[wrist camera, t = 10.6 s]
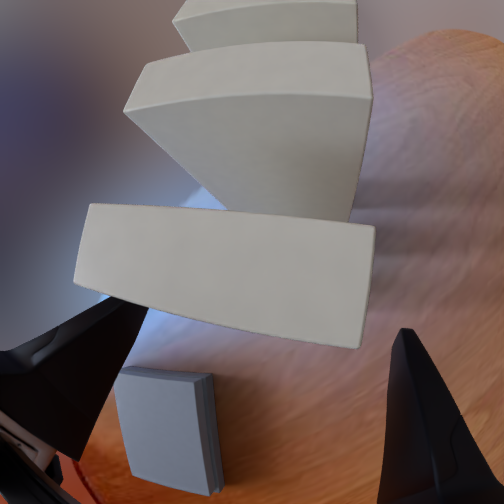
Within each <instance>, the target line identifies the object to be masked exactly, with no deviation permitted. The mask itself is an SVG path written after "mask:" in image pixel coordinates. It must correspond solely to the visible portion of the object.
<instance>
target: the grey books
mask: <svg viewBox="0 0 504 504" xmlns="http://www.w3.org/2000/svg"><path fill="white" fill-rule="evenodd" d="M114 391H115V398H116V404H117V410H118V415H119V421H120V426H121V431H122V436H123V440H124V445H125V449H126V453H127V457H128V461H129V465H130V468H131V472H132V475H133V476H136V477H139V478H142V479H145V480H148V481H151V482H154V483H157V484H161V485H164V486H168V487H171V488H175V489H179V490H183V491H187V492H192V493H196V494H201V495H206V496H210V495H211V494H212V493H213V492H217V493H220V492H221V491H222V489H223V488H224V486H225V483H224V476H223V469H222V461H221V453H220V445H219V437H218V428H217V419H216V409H215V399H214V388H213V377H212V374H211V373H194V372H180V371H168V370H158V369H149V368H141V367H133V366H128V367H124V368H121V370H120V372H119V374H118V376H117V378H116V380H115V382H114Z"/></svg>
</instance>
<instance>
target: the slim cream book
mask: <svg viewBox="0 0 504 504" xmlns="http://www.w3.org/2000/svg"><path fill="white" fill-rule="evenodd" d="M375 238H376V228H375V227H374V226H371V225H364V224H356V223H348V222H340V221H331V220H323V219H314V218H305V217H295V216H285V215H275V214H264V213H253V212H242V211H229V210H216V209H202V208H187V207H170V206H151V205H129V204H128V205H127V204H99V203H98V204H97V203H92V204H90V206H89V210H88V214H87V218H86V222H85V226H84V230H83V234H82V239H81V243H80V249H79V253H78V258H77V263H76V269H75V275H74V283H75V284H76V285H79V286H82V287H85V288H88V289H90V290H93V291H97V292H100V293H103V294H106V295H109V296H112V297H115V298H118V299H122V300H125V301H128V302H131V303H135V304H138V305H142V306H145V307H149V308H152V309H156V310H159V311H163V312H167V313H171V314H174V315H178V316H182V317H186V318H190V319H194V320H198V321H202V322H207V323H211V324H215V325H220V326H224V327H229V328H233V329H238V330H243V331H247V332H252V333H257V334H263V335H268V336H273V337H279V338H284V339H290V340H296V341H302V342H308V343H315V344H321V345H328V346H336V347H343V348H351V349H359V348H360V346H361V343H362V338H363V332H364V327H365V321H366V315H367V308H368V302H369V295H370V287H371V279H372V271H373V261H374V251H375Z"/></svg>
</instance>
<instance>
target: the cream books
mask: <svg viewBox="0 0 504 504" xmlns="http://www.w3.org/2000/svg"><path fill="white" fill-rule="evenodd" d="M173 24H174V26H175V27H176V29H177V30H178V32H179V33H180V35H181V37H182V38H183V40H184V41H185V43H186V45H187V46H188V48H189V49H190V51H191V53H187V54H182V55H178V56H174V57H169V58H165V59H162V60H158V61H154V62H151V63H148V64H146V66H145V68H144V69H143V71H142V73H141V75H140V77H139V79H138V81H137V83H136V85H135V87H134V89H133V91H132V93H131V95H130V97H129V100H128V102H127V104H126V106H125V108H124V113H125V114H126V115H127V116H128V117H129V118H130V119H131V120H132V121H133V122H135V123H136V124H137V125H138V126H139V127H140V128H141V129H142V130H143V131H144V132H145V133H146V134H147V135H149V136H150V137H151V138H152V139H153V140H154V141H155V142H156V143H157V144H158V145H159V146H161V148H163V149H164V150H165V151H166V152H167V153H168V154H169V155H170V156H171V157H172V158H173V159H174V160H175V161H177V162H178V163H179V164H180V165H181V166H182V167H183V168H184V169H185V170H186V171H187V172H188V173H189V174H190V175H191V176H192V177H193V178H195V179H196V180H197V181H198V182H199V183H200V184H201V185H202V186H203V187H204V188H205V189H206V190H207V191H208V192H209V193H210V194H211V195H212V196H214V197H215V198H216V199H217V200H218V201H219V202H220V203H221V204H222V205H223V206H224V207H225V208H226V209H227V210H229V211H242V212H253V213H264V214H275V215H285V216H295V217H305V218H314V219H323V220H331V221H340V222H348V221H349V217H350V214H351V210H352V206H353V201H354V197H355V193H356V189H357V184H358V180H359V175H360V171H361V166H362V161H363V156H364V151H365V146H366V141H367V135H368V130H369V124H370V118H371V112H372V106H373V99H374V97H373V88H372V80H371V72H370V65H369V58H368V52H367V47H366V45H364V44H358V4H357V0H187V1H186V2H185V3H184V5H183V6H182V8H181V9H180V10H179V12H178V13H177V15H176V16H175V18H174V19H173Z"/></svg>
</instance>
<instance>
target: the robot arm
mask: <svg viewBox="0 0 504 504" xmlns="http://www.w3.org/2000/svg"><path fill="white" fill-rule="evenodd" d="M148 309H149V307H145V306H142V305H138V304H135V303H131V302H128V301H125V300H122V299H118V298H115V297H112V296H111V297H109V298H107V299H105V300H103V301H102V302H100V303H98V304H96V305H95V306H93V307H91V308H89V309H87V310H85V311H84V312H82V313H80V314H78V315H76V316H75V317H73V318H71V319H69V320H68V321H66V322H64V323H62V324H60V325H59V326H57V327H55V328H53V329H52V330H50V331H48V332H46V333H44V334H42V335H40V336H38V337H37V338H34V339H32V340H30V341H28V342H26V343H24V344H22V345H20V346H18V347H16V348H14V349H11V350H8V351H0V494H1V495H2V496H3V498H4V499H5V500H6V501H7V502H8V504H81V503H80V502H78V501H77V500H76V499H75V498H73V497H72V496H71V495H70V494H68V493H67V492H66V491H65V490H63V489H62V488H61V487H60V484H61V483H62V481H63V476H62V471H61V466H60V461H59V456H58V455H57V454H55V453H56V452H57V450H58V451H59V452H61V453H63V454H64V455H66V456H68V457H70V458H72V459H73V460H75V461H77V462H79V460H80V458H81V456H82V454H83V451H84V449H85V446H86V444H87V442H88V439H89V437H90V435H91V432H92V430H93V428H94V426H95V423H96V421H97V419H98V416H99V414H100V412H101V410H102V408H103V405H104V403H105V401H106V399H107V397H108V395H109V393H110V391H111V389H112V386H113V384H114V382H115V380H116V378H117V376H118V374H119V372H120V370H121V368H122V366H123V364H124V362H125V360H126V358H127V356H128V354H129V352H130V350H131V348H132V347H133V345H134V343H135V340H136V338H137V336H138V333H139V331H140V328H141V326H142V324H143V321H144V319H145V316H146V314H147V311H148ZM460 414H461V413H460V411H459V409H458V407H457V405H456V403H455V401H454V399H453V397H452V395H451V393H450V391H449V390H448V388H447V386H446V384H445V382H444V380H443V379H442V377H441V375H440V373H439V371H438V370H437V368H436V366H435V364H434V363H433V361H432V359H431V358H430V356H429V354H428V352H427V351H426V349H425V347H424V346H423V344H422V343H421V341H420V339H419V338H418V336H417V334H416V333H415V331H414V330H413V329H410V328H401V329H400V330H399V332H398V335H397V337H396V339H395V341H394V343H393V346H392V352H391V364H390V373H389V382H388V390H387V413H386V431H385V444H384V455H383V464H382V472H381V479H380V486H379V492H378V498H377V504H504V486H503V485H502V484H501V483H500V482H499V481H498V480H497V479H496V477H495V476H494V474H493V473H492V471H491V469H490V467H489V465H488V463H487V462H486V460H485V458H484V456H483V455H482V453H481V451H480V449H479V448H478V446H477V444H476V442H475V440H474V439H473V437H472V435H471V433H470V431H469V429H468V427H467V425H466V423H465V421H464V419H463V417H462V415H460Z"/></svg>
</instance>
